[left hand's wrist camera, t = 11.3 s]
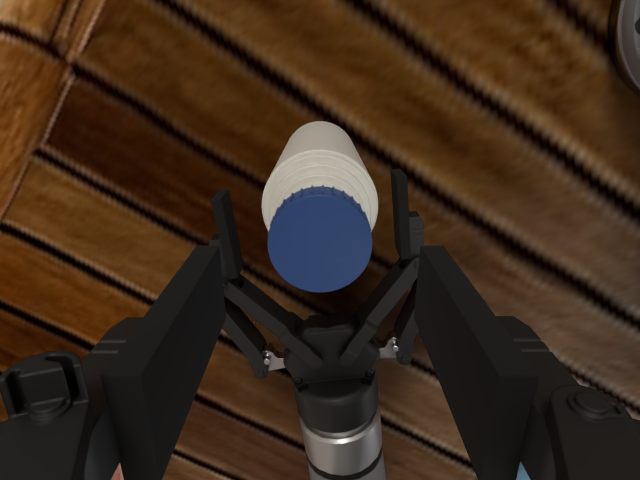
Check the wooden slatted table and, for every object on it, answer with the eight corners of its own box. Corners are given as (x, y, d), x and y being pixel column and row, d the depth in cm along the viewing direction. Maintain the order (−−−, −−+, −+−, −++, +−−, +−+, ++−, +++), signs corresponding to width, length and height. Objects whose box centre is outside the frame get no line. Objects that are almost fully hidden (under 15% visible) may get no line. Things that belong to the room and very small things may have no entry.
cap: (389, 226, 19) (396, 238, 17) (326, 294, 20) (327, 312, 19) (312, 163, 18) (312, 171, 16) (250, 239, 19) (244, 253, 18)
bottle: (369, 152, 37) (425, 232, 18) (324, 205, 39) (329, 331, 19) (314, 105, 36) (308, 136, 16) (270, 162, 38) (217, 252, 18)
